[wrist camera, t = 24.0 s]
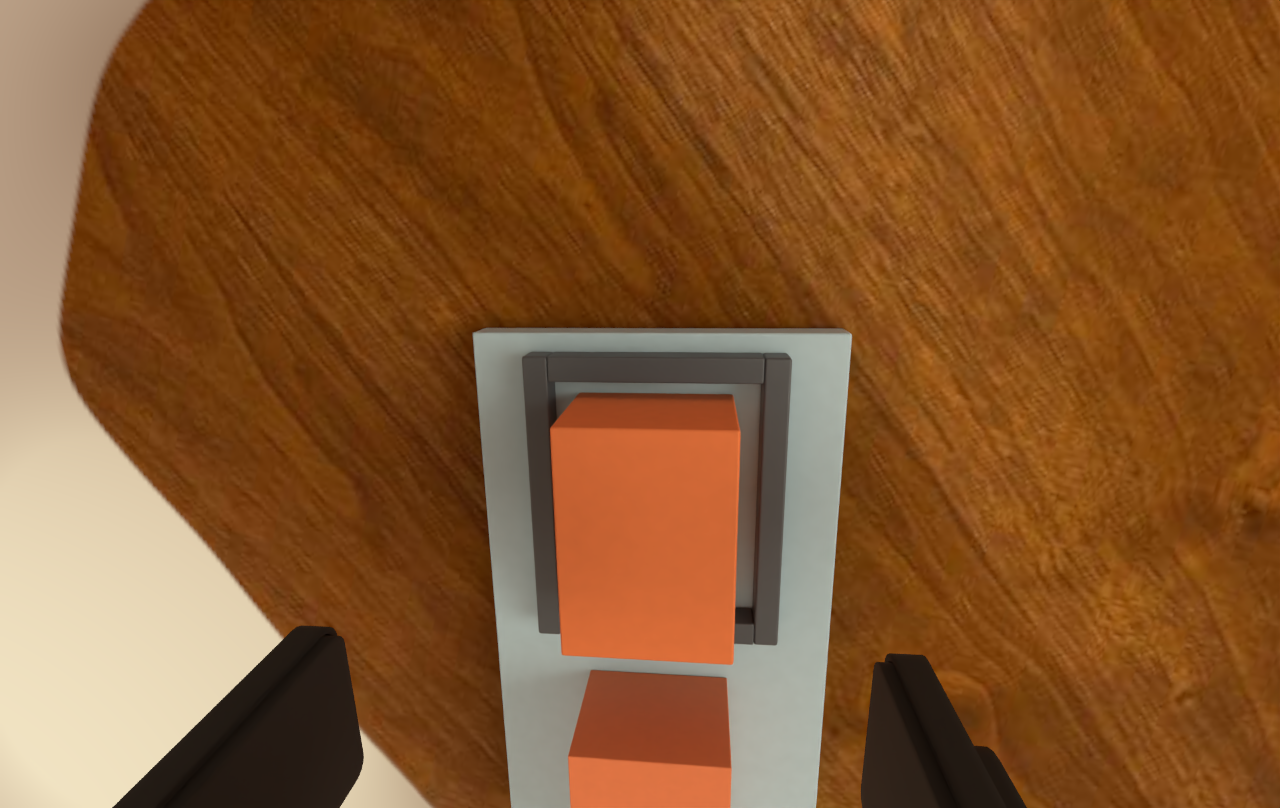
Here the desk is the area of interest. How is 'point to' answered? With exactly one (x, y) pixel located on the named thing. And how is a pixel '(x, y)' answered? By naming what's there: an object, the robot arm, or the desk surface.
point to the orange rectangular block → (647, 525)
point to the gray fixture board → (765, 573)
